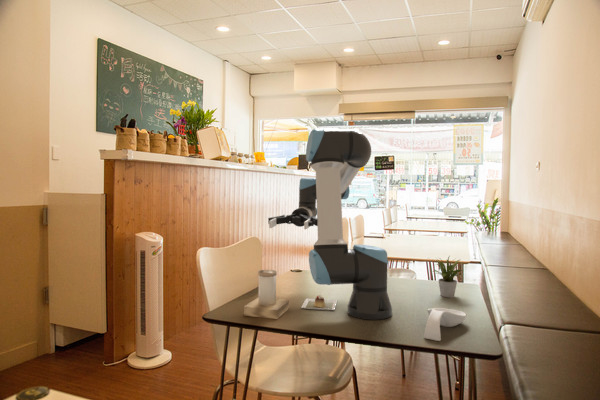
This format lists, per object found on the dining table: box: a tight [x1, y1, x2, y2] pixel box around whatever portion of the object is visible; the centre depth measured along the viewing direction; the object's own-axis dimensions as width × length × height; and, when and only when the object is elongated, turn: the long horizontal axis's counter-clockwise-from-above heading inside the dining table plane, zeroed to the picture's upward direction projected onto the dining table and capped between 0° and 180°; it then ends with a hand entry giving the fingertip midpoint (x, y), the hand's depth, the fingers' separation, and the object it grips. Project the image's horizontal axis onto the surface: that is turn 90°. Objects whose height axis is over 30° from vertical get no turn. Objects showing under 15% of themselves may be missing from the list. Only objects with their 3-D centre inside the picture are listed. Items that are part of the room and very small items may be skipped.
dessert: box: [300, 294, 338, 311], centre depth 149 cm, size 12×12×5 cm
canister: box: [257, 269, 278, 306], centre depth 140 cm, size 6×6×11 cm
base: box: [243, 296, 290, 320], centre depth 140 cm, size 12×12×3 cm
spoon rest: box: [423, 307, 467, 342], centre depth 125 cm, size 24×12×7 cm, turn 148°
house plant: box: [427, 255, 465, 298], centre depth 163 cm, size 14×14×16 cm
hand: (287, 225), depth 150 cm, fingers open, 13 cm apart
